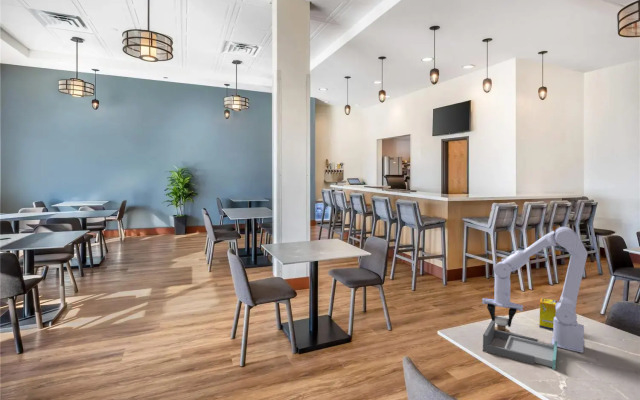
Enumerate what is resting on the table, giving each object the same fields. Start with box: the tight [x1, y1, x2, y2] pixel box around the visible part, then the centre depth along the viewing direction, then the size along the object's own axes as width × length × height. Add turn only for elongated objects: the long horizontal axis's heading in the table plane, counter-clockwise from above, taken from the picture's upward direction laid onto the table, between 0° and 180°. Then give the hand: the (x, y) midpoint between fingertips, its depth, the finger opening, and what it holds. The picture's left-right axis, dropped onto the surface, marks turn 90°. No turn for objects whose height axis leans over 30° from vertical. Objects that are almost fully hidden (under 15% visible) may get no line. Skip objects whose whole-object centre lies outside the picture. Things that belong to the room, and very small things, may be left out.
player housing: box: [482, 320, 539, 365], centre depth 125 cm, size 16×16×6 cm
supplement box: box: [538, 298, 558, 331], centre depth 144 cm, size 6×6×11 cm
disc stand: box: [495, 324, 511, 333], centre depth 139 cm, size 6×6×4 cm
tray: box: [504, 336, 558, 371], centre depth 121 cm, size 15×16×3 cm
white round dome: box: [494, 315, 509, 327], centre depth 139 cm, size 5×5×2 cm
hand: (501, 324), depth 139 cm, fingers closed on white round dome, 5 cm apart
